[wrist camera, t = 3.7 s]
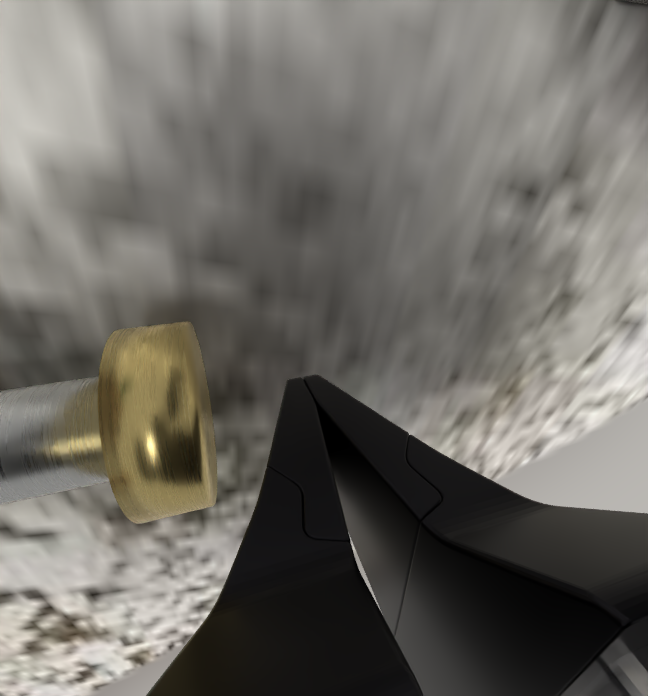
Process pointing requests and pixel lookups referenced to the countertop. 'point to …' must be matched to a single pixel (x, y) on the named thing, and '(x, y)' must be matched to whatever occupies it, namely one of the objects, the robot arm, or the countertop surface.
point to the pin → (118, 428)
